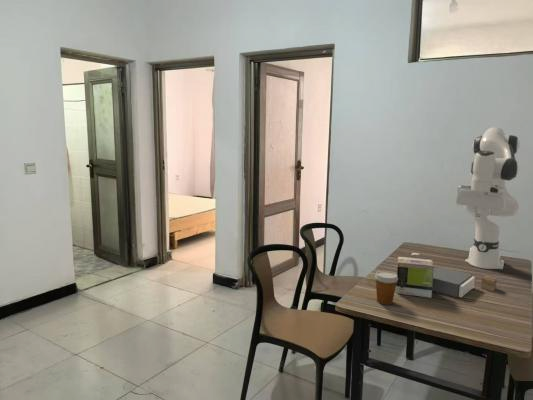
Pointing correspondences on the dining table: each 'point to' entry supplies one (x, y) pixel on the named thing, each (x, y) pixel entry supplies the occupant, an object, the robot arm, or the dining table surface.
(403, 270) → the tea box
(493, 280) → the wooden block
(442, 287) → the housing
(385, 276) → the disposable coffee cup
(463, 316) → the dining table surface
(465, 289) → the cream drawer
